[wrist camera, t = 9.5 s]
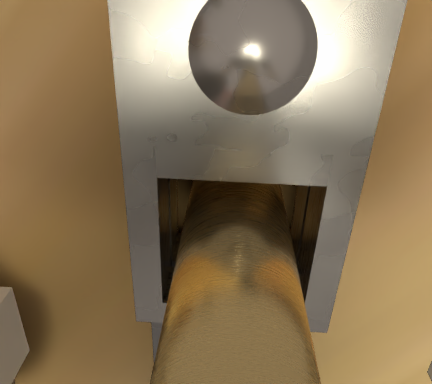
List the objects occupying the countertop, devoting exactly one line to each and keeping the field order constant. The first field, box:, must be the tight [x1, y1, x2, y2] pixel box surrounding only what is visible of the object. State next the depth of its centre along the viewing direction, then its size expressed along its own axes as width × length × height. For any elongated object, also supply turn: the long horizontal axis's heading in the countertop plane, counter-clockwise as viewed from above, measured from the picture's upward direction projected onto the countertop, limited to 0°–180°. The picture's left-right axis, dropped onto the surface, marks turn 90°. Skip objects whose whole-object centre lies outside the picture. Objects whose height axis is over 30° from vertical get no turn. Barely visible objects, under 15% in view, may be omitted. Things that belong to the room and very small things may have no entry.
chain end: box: [107, 0, 407, 333], centre depth 15 cm, size 8×18×6 cm, turn 178°
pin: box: [150, 180, 321, 384], centre depth 14 cm, size 4×4×14 cm
